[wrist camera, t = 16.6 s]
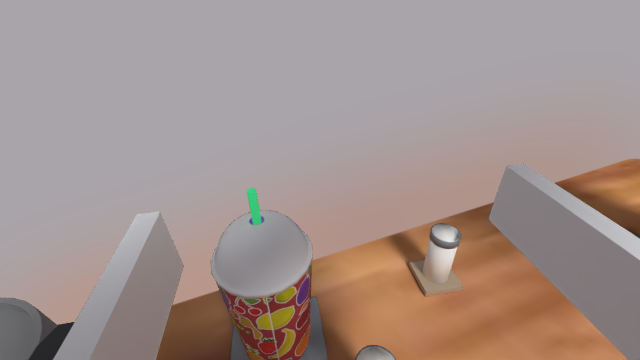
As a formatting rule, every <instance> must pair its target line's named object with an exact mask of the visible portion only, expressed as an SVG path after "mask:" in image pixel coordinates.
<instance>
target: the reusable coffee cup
mask: <svg viewBox="0 0 640 360" xmlns="http://www.w3.org/2000/svg"><path fill="white" fill-rule="evenodd" d="M57 326H58V325H56V324H55V323H54V322H53V321H51V320H50V319H49V318H48V317H46V316H45V315H44V314H43V313H41V312H40V311H39V310H38V309H37V308H35V307H34V306H32V305H31V304H29V303H28V302H26V301H23V300H19V299H15V298H0V360H28V359H29V358H30V356H31V354H32V353H33V351H34V350H35V348H36V347H37V345H38V344H39V343H40V342H42V341H43V340H44V339H45V338H46V337H47V336H48V335H49V334H50V333H51V332H52V331H53V330H54V329H55V328H56V327H57Z"/></svg>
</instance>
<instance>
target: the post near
mask: <svg viewBox="0 0 640 360" xmlns="http://www.w3.org/2000/svg"><path fill="white" fill-rule="evenodd" d="M355 360H396V359H395V357H394V356H393V354H392V353H391V352H390V351H388V350H387V349H385V348H384V347H381V346H378V345H370V346H366V347H364V348H363V349H361V350H360V351H359V353H358V354H357V356H356V359H355Z"/></svg>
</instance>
